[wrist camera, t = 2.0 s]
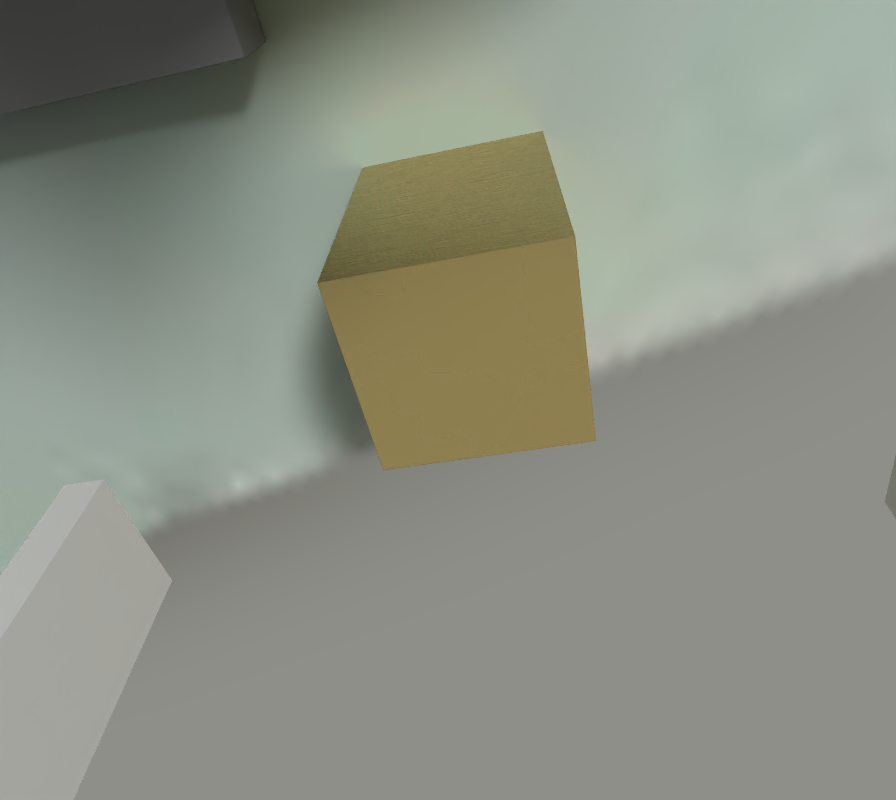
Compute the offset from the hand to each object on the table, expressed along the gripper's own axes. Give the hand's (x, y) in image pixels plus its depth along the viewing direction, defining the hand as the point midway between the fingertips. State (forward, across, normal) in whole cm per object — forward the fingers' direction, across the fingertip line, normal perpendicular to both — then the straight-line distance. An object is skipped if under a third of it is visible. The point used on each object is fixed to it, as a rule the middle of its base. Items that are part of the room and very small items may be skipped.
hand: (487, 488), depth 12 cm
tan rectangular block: (+11, 0, 0) cm, 11 cm away
